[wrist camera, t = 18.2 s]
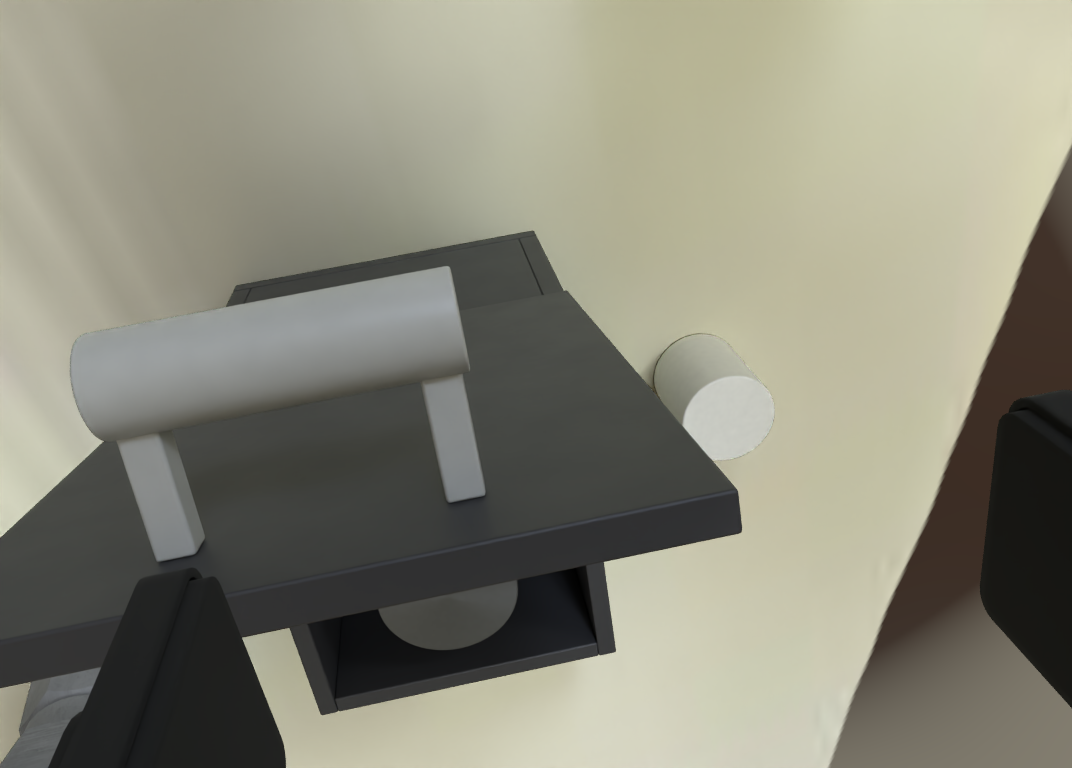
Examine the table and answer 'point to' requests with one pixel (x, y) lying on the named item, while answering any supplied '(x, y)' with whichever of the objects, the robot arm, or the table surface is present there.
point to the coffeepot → (48, 717)
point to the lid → (347, 463)
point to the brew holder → (453, 617)
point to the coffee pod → (714, 396)
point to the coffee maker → (543, 601)
